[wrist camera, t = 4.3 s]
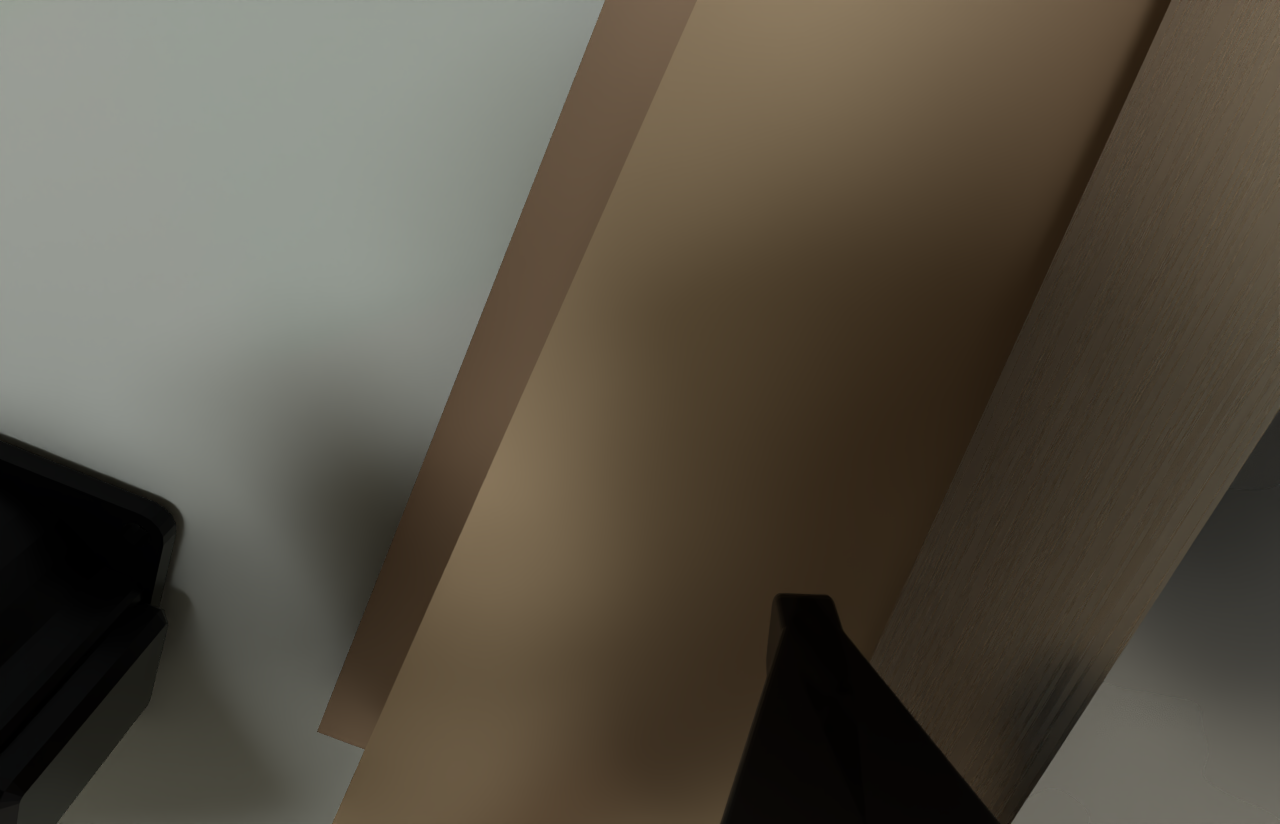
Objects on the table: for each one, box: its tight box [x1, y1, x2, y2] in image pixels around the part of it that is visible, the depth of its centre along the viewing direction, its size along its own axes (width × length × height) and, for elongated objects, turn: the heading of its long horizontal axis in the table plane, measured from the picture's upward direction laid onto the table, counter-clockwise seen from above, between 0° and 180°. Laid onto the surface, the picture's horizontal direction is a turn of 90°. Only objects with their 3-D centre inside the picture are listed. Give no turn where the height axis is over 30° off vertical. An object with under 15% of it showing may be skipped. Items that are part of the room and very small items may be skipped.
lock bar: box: [869, 0, 1280, 824], centre depth 7 cm, size 16×3×4 cm, turn 168°
